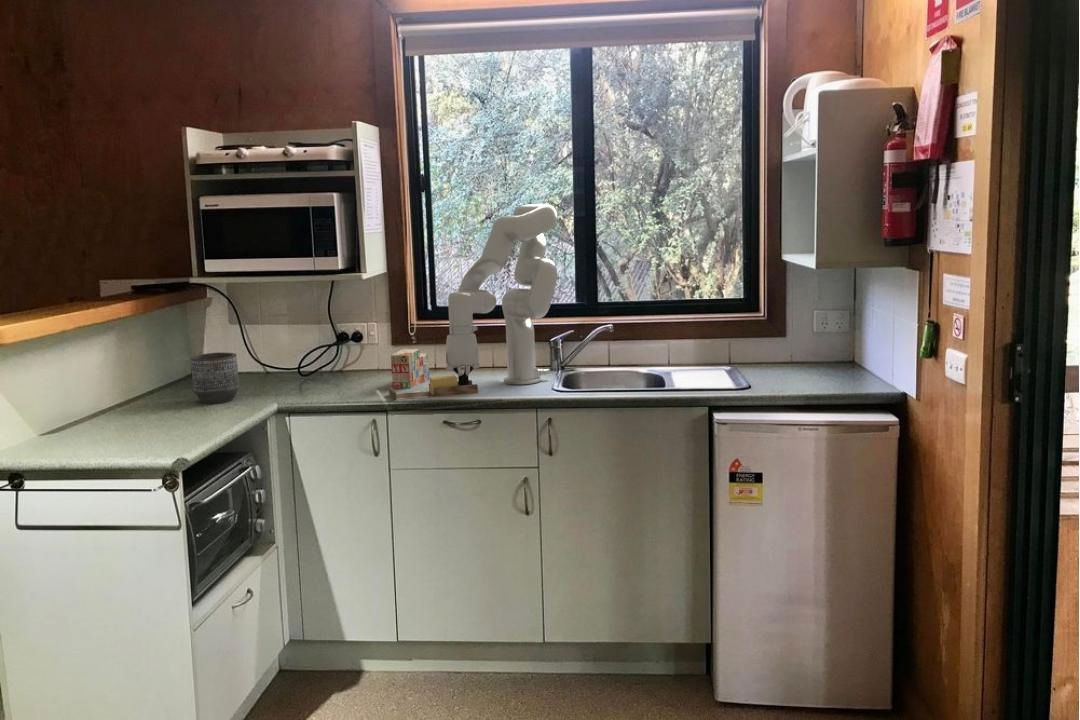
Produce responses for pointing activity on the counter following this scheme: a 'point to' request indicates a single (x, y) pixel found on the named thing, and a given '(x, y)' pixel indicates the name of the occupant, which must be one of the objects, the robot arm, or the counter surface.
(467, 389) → the chute board
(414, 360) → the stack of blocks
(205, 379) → the planter
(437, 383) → the block
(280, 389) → the counter surface
